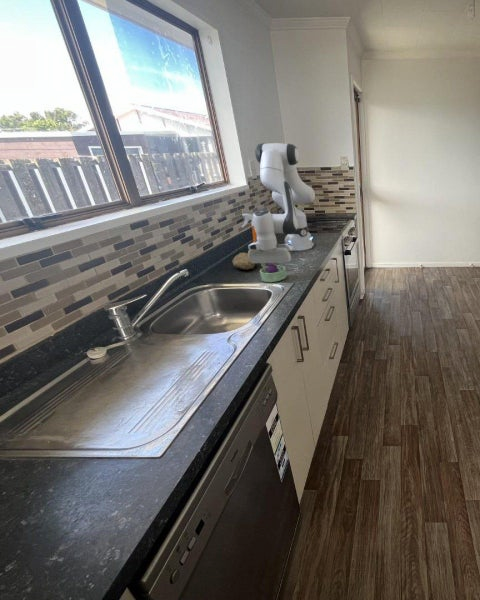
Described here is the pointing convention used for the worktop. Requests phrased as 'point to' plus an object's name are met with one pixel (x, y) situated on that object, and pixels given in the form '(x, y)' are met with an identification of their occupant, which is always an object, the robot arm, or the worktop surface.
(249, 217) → the spray bottle
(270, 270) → the ball
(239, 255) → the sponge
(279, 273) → the bowl
